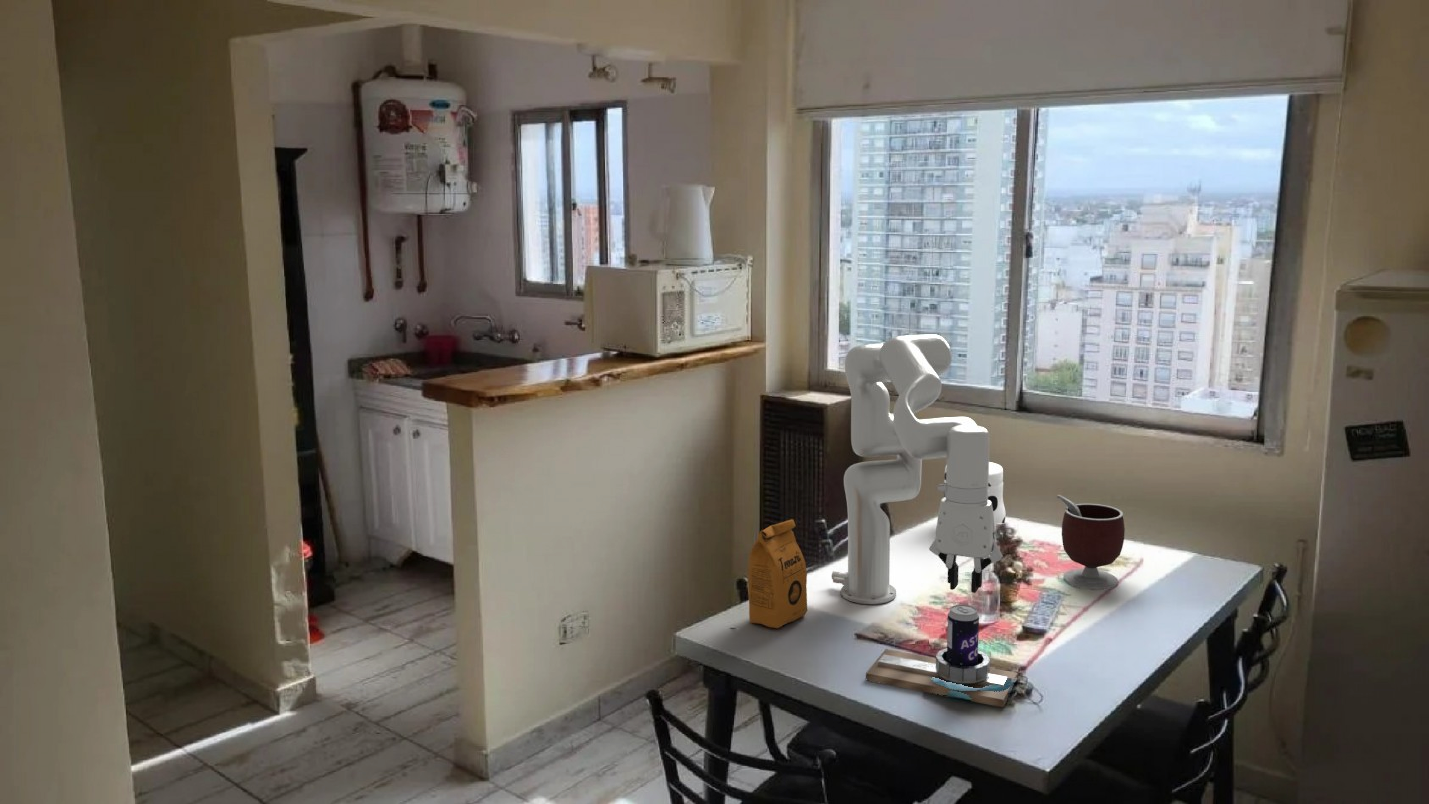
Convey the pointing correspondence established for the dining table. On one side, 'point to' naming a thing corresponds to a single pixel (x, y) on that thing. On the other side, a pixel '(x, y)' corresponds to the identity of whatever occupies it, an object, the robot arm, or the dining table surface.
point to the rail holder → (948, 669)
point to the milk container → (995, 491)
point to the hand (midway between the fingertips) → (964, 587)
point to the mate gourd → (1092, 543)
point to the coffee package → (777, 577)
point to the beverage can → (962, 636)
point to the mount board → (927, 685)
